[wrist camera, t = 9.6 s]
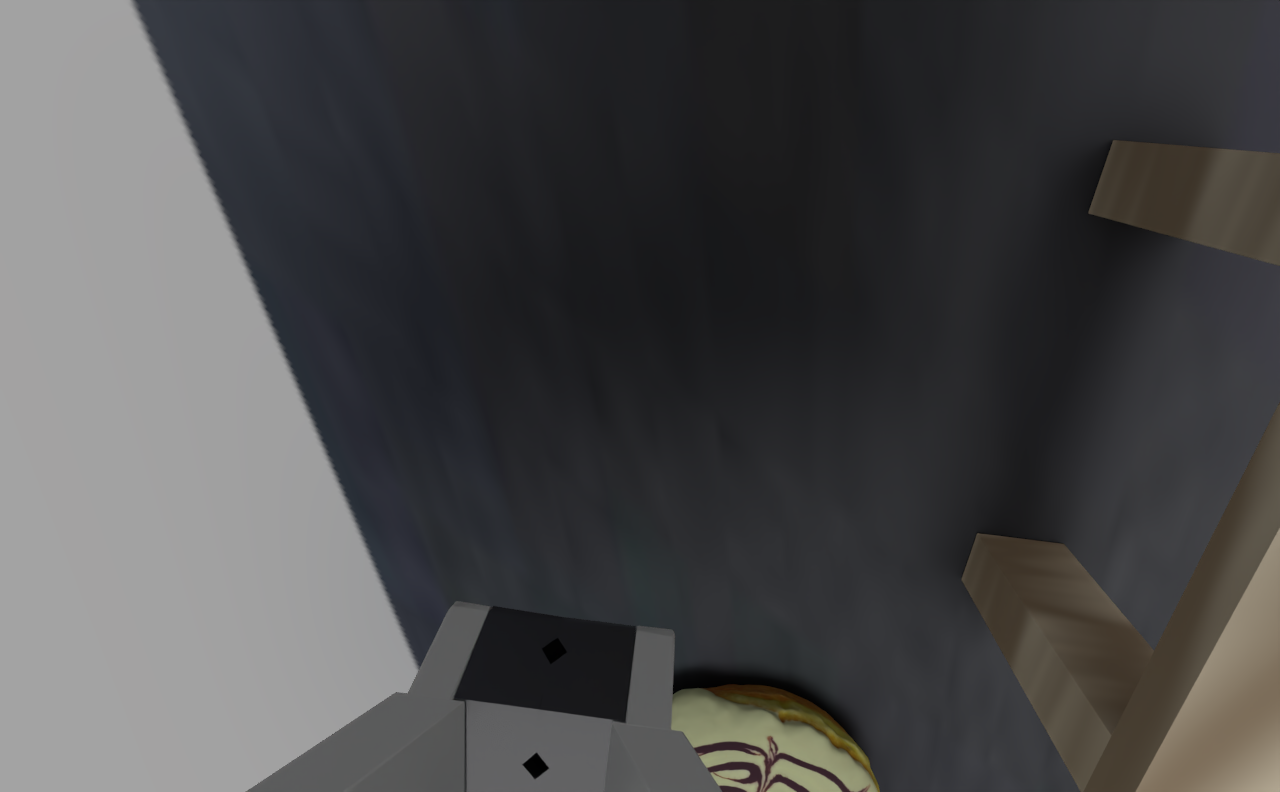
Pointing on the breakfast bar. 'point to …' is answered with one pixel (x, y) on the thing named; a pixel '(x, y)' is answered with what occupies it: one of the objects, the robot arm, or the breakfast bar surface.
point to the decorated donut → (769, 741)
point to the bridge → (1220, 586)
